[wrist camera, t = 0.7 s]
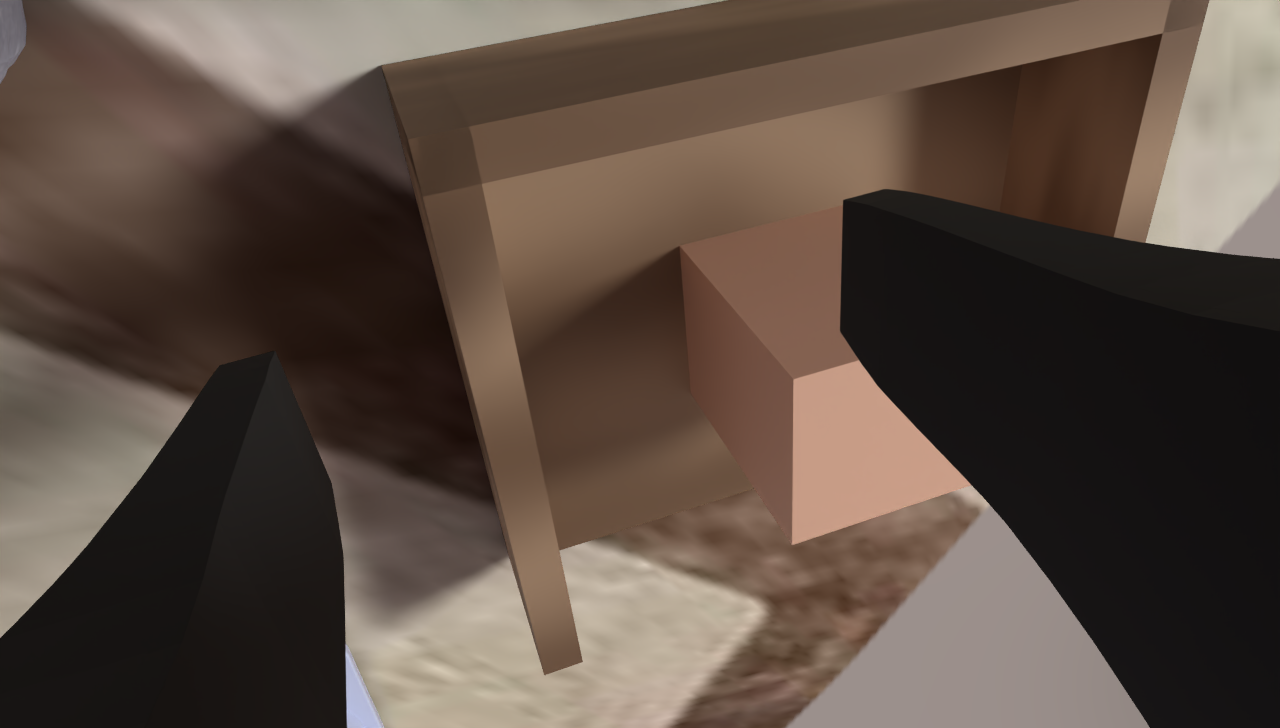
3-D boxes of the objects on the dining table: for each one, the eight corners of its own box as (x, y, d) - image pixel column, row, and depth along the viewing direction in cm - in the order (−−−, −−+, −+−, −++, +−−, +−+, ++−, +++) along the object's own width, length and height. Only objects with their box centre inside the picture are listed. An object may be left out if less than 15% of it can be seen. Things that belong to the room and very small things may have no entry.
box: (982, 402, 29) (1079, 489, 26) (507, 550, 26) (544, 675, 22) (1058, -62, 21) (1216, -28, 18) (381, 65, 18) (407, 138, 14)
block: (839, 350, 25) (970, 484, 20) (690, 393, 24) (792, 545, 19) (845, 204, 22) (998, 319, 18) (679, 245, 21) (793, 379, 17)
